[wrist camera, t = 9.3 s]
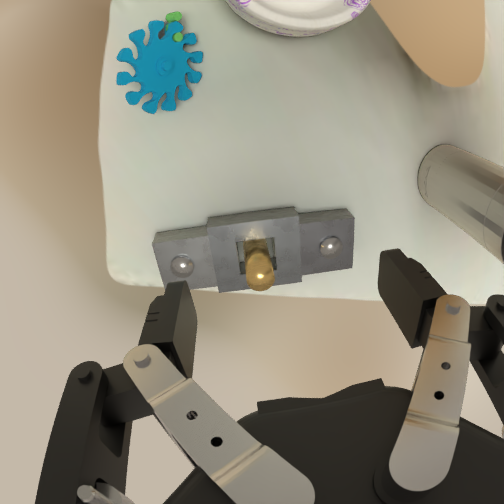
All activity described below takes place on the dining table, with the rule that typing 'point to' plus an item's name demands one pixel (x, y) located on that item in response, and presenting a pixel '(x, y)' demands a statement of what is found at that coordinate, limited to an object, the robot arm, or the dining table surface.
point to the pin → (258, 265)
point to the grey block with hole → (251, 228)
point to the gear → (160, 64)
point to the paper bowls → (298, 14)
